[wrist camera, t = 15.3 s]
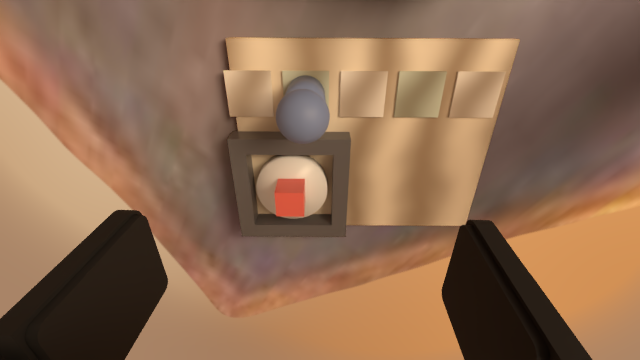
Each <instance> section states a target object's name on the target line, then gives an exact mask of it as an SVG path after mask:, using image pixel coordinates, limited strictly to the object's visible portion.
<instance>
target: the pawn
mask: <svg viewBox="0 0 640 360" xmlns="http://www.w3.org/2000/svg"><path fill="white" fill-rule="evenodd" d="M329 120H330V113H329V108H328V106H327V104H326V100H325V91H324V88H323V86H322V84H321V83H320V82H319V80H317V79H316V78H314V77H312V76H308V75H303V76H299V77H297V78H295V79H294V80H292V81H291V83H290V84H289V86H288V88H287V91H286V93H285V96H284V97H283V98H282V99H281V100H280V102H279V104H278V106H277V109H276V123H277V126H278V128H279V130H280V132H281V133H282V134H283V136H285V137H286V138H287V139H288V140H290V141H292V142H294V143H298V144H308V143H311V142H314V141H316V140H318V139H319V138H320V137H321V136H322V135H323V134H324V133H325V131H326V130H327V128H328V125H329Z"/></svg>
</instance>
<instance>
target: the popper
mask: <svg viewBox="0 0 640 360" xmlns="http://www.w3.org/2000/svg"><path fill="white" fill-rule="evenodd" d="M256 189H257V195H258V197H259V199H260V201H261V203H262V204H263V205H264V207H265V208H266V209H268V210H269V211H270V212H272V213H273V214H275V215H276V216H280V217H283V218H288V219H299V218H304V217H307V216H310V215H312V214H313V213H315V212H316V211H318V210H319V209H320V208H321V206H322V205H323V204H324V202H325V200H326V197H327V177H326V174H325V171H324V169H323V168H322V166H321V165H320V164H319V163H318V162H317V161H316V160H315V159H313V158H312V157H310V156H308V155H275V156H273V157H272V158H270V159H269V160H268V161H267V162H266V163H265V164H264V166H263V167H262V169H261V171H260V174H259V177H258V180H257V185H256Z"/></svg>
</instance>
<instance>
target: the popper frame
mask: <svg viewBox="0 0 640 360" xmlns="http://www.w3.org/2000/svg"><path fill="white" fill-rule="evenodd" d="M227 142H228V149H229V155H230V162H231V168H232V175H233V181H234V188H235V194H236V200H237V207H238V213H239V220H240V226H241V233H242V236H291V237H346V221H347V203H348V186H349V168H350V150H351V137H350V133H349V132H325V133H324V134H323V135H322V136H321V137H320V138H319V139H318V140H316V141H314V142H311V143H308V144H298V143H294V142H292V141H290V140H288V139H287V138H286V137H285V136H283V134H282V133H281V132H270V131H233V132H232V133H231V134H230V136H229V137H228V139H227ZM251 155H333V166H332V204H331V214H312V215H310V216H307V217H304V218H299V219H288V218H283V217H280V216H276V215H275V214H258V208H257V199H256V191H255V182H254V173H253V165H252V156H251Z"/></svg>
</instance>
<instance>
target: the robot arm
mask: <svg viewBox="0 0 640 360" xmlns="http://www.w3.org/2000/svg"><path fill="white" fill-rule="evenodd" d="M167 284H168V278H167V275H166V272H165V270H164V267H163V264H162V261H161V258H160V255H159V252H158V249H157V246H156V243H155V240H154V237H153V235H152V232H151V229H150V226H149V223H148V220H147V218H146V217H145V216H143V215H142V214H141V213H140V212H139V211H136V210H117V211H115V212H113V213H112V214H111V215H110V216H109V217H108V218H107V219H106V220H105V221H104V222H103V223H102V224H100V225H99V226H98V227H97V228H96V229H95V230H94V231H93V232H92V233H91V234H90V235H89V236H88V237H87V238H86V239H84V241H82V242H81V244H79V245H78V246H77V247H76V248H75V249H74V250H73V251H72V252H71V253H70V254H69V255H67V256H66V257H65V258H64V259H63V260H62V261H61V262H60V263H59V264H58V265H57V266H56V267H55V268H54V269H53V270H52V271H50V272H49V273H48V274H47V275H46V276H45V277H44V278H43V279H42V280H41V281H40V282H39V283H38V284H37V285H36V286H35V287H34V288H33V289H31V290H30V291H29V292H28V293H27V294H26V295H25V296H24V297H23V298H22V299H21V300H20V301H19V302H18V303H17V304H16V305H15V306H13V307H12V308H11V309H10V310H9V311H8V312H7V313H6V314H5V315H4V316H3V317H2V318H1V319H0V360H125V358H126V356H127V355H128V353H129V351H130V349H131V348H132V346H133V344H134V343H135V341H136V339H137V338H138V336H139V334H140V332H141V331H142V329H143V328H144V326H145V324H146V323H147V321H148V319H149V317H150V316H151V314H152V312H153V311H154V309H155V307H156V306H157V304H158V302H159V300H160V299H161V297H162V295H163V294H164V292H165V290H166V288H167ZM442 298H443V302H444V304H445V307H446V310H447V313H448V316H449V318H450V321H451V324H452V327H453V329H454V332H455V335H456V338H457V340H458V343H459V346H460V349H461V351H462V354H463V357H464V359H465V360H592V359H591V357H590V356H589V355H588V353H587V352H586V350H585V349H584V348H583V346H582V345H581V343H580V342H579V341H578V339H577V338H576V336H575V335H574V334H573V332H572V331H571V329H570V328H569V327H568V325H567V324H566V323H565V321H564V320H563V318H562V317H561V316H560V314H559V313H558V312H557V310H556V309H555V307H554V306H553V304H552V303H551V302H550V300H549V299H548V298H547V296H546V295H545V293H544V292H543V291H542V289H541V288H540V286H539V285H538V284H537V282H536V281H535V280H534V278H533V277H532V276H531V274H530V273H529V272H528V271H527V269H526V268H525V266H524V265H523V264H522V262H521V261H520V259H519V258H518V257H517V255H516V254H515V252H514V251H513V250H512V248H511V247H510V245H509V244H508V243H507V241H506V240H505V239H504V237H503V236H502V234H501V233H500V232H499V230H498V229H497V227H496V226H495V225H494V223H493V222H492V221H489V220H468V221H467V223H466V225H461V226H460V229H459V232H458V235H457V239H456V242H455V246H454V249H453V253H452V256H451V259H450V263H449V267H448V270H447V273H446V277H445V280H444V283H443V287H442Z"/></svg>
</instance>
